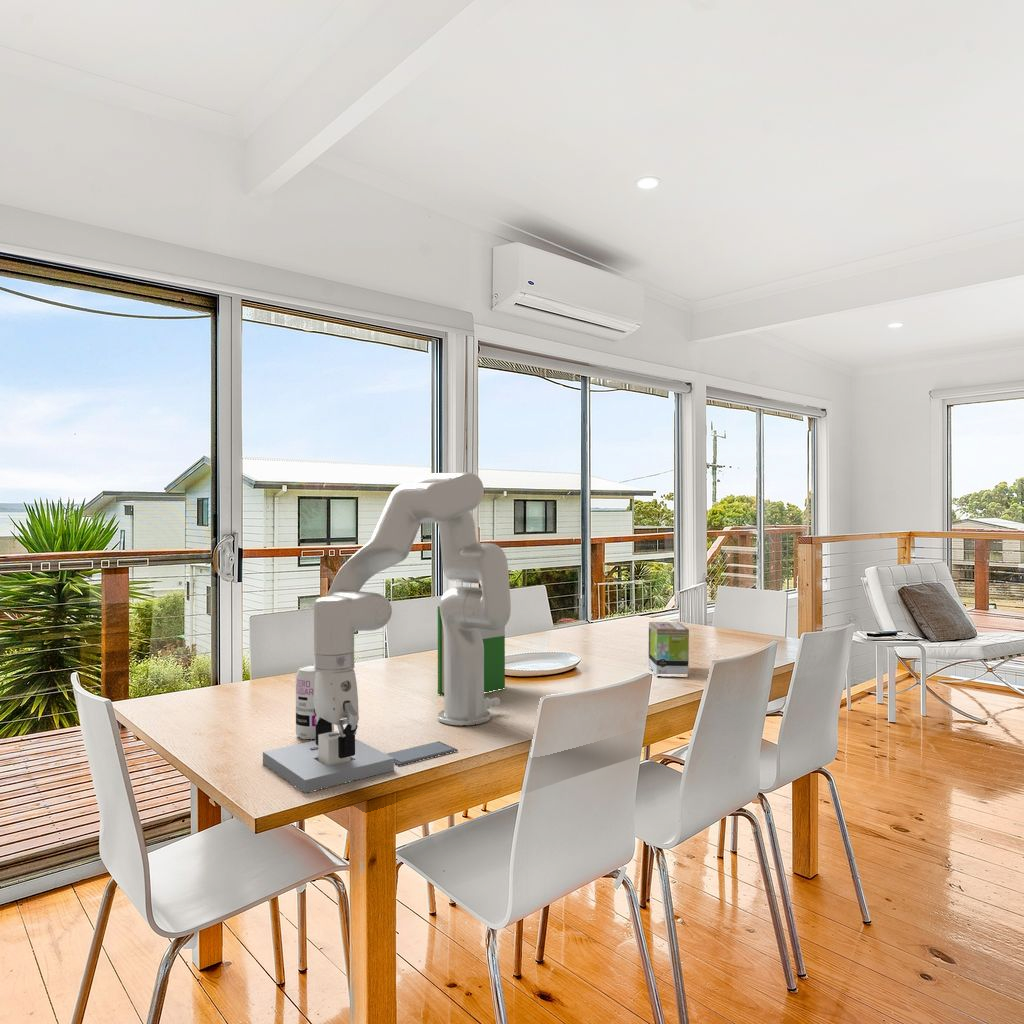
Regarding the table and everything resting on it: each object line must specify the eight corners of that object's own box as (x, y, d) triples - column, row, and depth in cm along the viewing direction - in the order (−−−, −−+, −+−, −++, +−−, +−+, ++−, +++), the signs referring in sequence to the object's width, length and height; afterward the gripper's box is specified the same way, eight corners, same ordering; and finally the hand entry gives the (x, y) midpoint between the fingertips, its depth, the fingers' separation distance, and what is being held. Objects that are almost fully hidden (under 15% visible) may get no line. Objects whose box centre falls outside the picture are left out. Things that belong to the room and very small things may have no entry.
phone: (439, 745, 159) (439, 740, 159) (457, 754, 153) (457, 748, 153) (381, 760, 150) (381, 754, 150) (398, 769, 145) (398, 763, 145)
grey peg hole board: (346, 745, 158) (346, 733, 158) (394, 770, 142) (394, 757, 142) (262, 763, 146) (262, 750, 146) (305, 793, 131) (305, 779, 131)
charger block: (340, 765, 145) (339, 729, 145) (350, 772, 142) (350, 734, 142) (318, 770, 142) (318, 733, 142) (328, 777, 139) (328, 739, 139)
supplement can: (337, 729, 169) (337, 663, 169) (329, 740, 161) (329, 671, 161) (301, 729, 169) (301, 664, 169) (291, 741, 160) (291, 672, 160)
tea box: (689, 678, 220) (689, 628, 220) (655, 678, 220) (655, 628, 220) (679, 667, 235) (679, 620, 235) (647, 667, 235) (647, 620, 235)
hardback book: (454, 700, 195) (454, 609, 195) (437, 694, 200) (437, 606, 200) (504, 689, 207) (504, 603, 206) (488, 684, 212) (487, 601, 212)
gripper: (373, 665, 137) (374, 757, 138) (332, 651, 151) (332, 735, 151) (336, 671, 133) (337, 766, 133) (297, 656, 146) (297, 743, 146)
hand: (335, 750), depth 142 cm, fingers open, 9 cm apart
